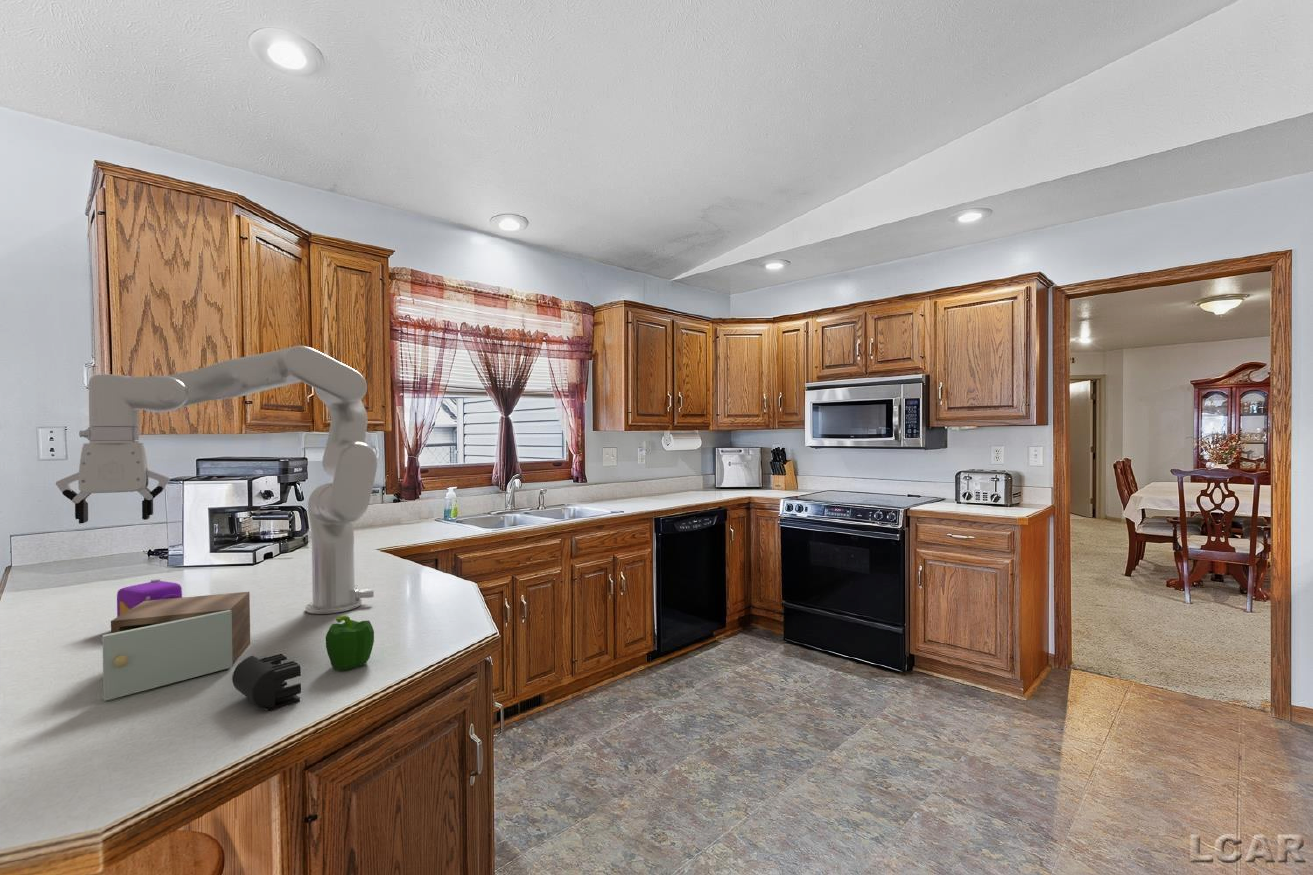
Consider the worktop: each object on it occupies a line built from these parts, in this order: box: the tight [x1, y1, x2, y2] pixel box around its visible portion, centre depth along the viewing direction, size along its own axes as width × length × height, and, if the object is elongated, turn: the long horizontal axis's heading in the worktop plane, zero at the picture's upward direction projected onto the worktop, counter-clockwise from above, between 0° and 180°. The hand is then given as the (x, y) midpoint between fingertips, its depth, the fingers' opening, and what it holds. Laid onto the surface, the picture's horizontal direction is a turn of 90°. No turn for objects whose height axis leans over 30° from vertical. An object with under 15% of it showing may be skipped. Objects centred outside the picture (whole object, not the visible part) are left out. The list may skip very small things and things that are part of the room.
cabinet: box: [110, 591, 251, 665], centre depth 119 cm, size 18×14×11 cm
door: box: [101, 610, 234, 701], centre depth 107 cm, size 18×2×11 cm, turn 141°
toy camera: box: [116, 578, 183, 618], centre depth 141 cm, size 11×14×10 cm
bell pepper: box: [325, 615, 375, 671], centre depth 115 cm, size 8×8×10 cm
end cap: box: [231, 653, 302, 712], centre depth 100 cm, size 10×7×7 cm
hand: (115, 520), depth 123 cm, fingers open, 9 cm apart
